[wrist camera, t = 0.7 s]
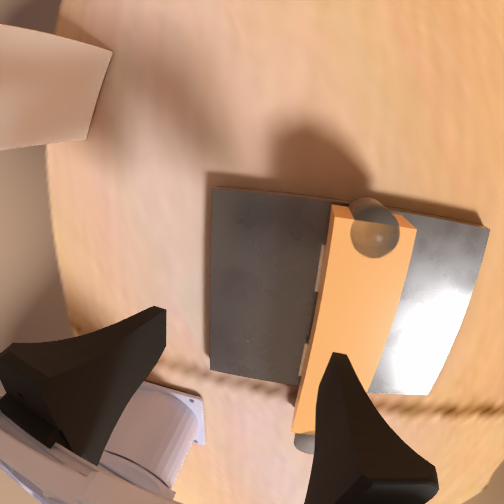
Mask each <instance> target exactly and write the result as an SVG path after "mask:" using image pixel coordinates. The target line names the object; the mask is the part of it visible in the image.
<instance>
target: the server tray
mask: <svg viewBox="0 0 504 504" xmlns="http://www.w3.org/2000/svg"><path fill="white" fill-rule="evenodd" d="M352 202H353V201H346V200H339V199H331V198H324V197H316V196H308V195H300V194H291V193H283V192H274V191H264V190H254V189H244V188H233V187H221V186H217V187H215V188H213V190H212V217H211V255H210V370H214V371H218V372H223V373H228V374H233V375H238V376H243V377H248V378H254V379H259V380H265V381H271V382H278V383H284V384H291V385H298V386H299V385H300V381H301V377H302V372H303V368H304V363H305V358H306V354H307V349H308V344H309V339H310V334H311V329H312V324H313V319H314V314H315V309H316V303H317V298H318V292H319V286H320V280H321V274H322V268H323V262H324V256H325V249H326V243H327V236H328V229H329V222H330V214H331V206H332V205H339V206H346V207H348V206H349V205H350V204H351V203H352ZM384 207H385V206H384ZM385 208H386V209H388V210H389V211H390V212H391V213H392V214H398V215H402V216H403V217H404V218H405V219H406V220H407V221H408V222H409V223H411V224H412V225H413V226H414V227H415V228H416V229H417V232H416V236H415V241H414V246H413V250H412V254H411V259H410V263H409V267H408V271H407V275H406V279H405V282H404V286H403V290H402V293H401V297H400V300H399V304H398V307H397V310H396V314H395V317H394V320H393V323H392V326H391V329H390V332H389V335H388V338H387V341H386V344H385V347H384V350H383V353H382V355H381V358H380V361H379V364H378V366H377V369H376V371H375V374H374V377H373V379H372V382H371V384H370V387H369V389H368V391H367V393H382V394H407V395H428V393H429V391H430V389H431V387H432V385H433V384H434V382H435V380H436V378H437V376H438V374H439V372H440V370H441V368H442V366H443V363H444V361H445V359H446V357H447V355H448V353H449V350H450V348H451V346H452V344H453V341H454V339H455V337H456V334H457V332H458V329H459V327H460V324H461V322H462V319H463V317H464V314H465V312H466V309H467V306H468V303H469V301H470V298H471V295H472V292H473V289H474V286H475V283H476V280H477V276H478V273H479V270H480V266H481V263H482V259H483V256H484V252H485V248H486V244H487V240H488V236H489V232H490V229H489V228H487V227H485V226H484V225H479V224H475V223H470V222H465V221H461V220H456V219H451V218H446V217H441V216H436V215H430V214H425V213H420V212H414V211H408V210H403V209H397V208H391V207H385Z"/></svg>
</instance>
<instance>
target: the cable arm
mask: <svg viewBox="0 0 504 504" xmlns="http://www.w3.org/2000/svg"><path fill="white" fill-rule="evenodd" d="M416 232H417V229H416V228H415V227H414V226H413V225H412V224H411V223H409V222H408V221H407V220H406V219H405V218H404V217H403V216H402V215H398V214H392V213H391V212H390V211H389V210H388V209H386V208H385V207H384V206H383V205H382V204H381V203H380V202H379V201H378V200H376V199H374V198H371V197H361V198H358V199H356V200H354V201H353V202H352V203H351V204H350V205H349V206H348V207H346V206H339V205H332V206H331V214H330V222H329V229H328V236H327V243H326V249H325V256H324V262H323V268H322V274H321V280H320V286H319V292H318V298H317V303H316V309H315V314H314V319H313V324H312V329H311V334H310V339H309V344H308V349H307V354H306V358H305V363H304V368H303V372H302V377H301V381H300V385H299V390H298V394H297V398H296V402H295V408H294V415H293V422H292V429H291V432H292V433H295V439H294V445H295V447H296V448H297V449H298V450H300V451H302V452H304V453H308V454H314V447H315V415H316V401H317V394H318V388H319V384H320V382H321V379H322V377H323V375H324V372H325V370H326V367H327V365H328V362H329V360H330V357H331V355H332V352H337V353H342V354H347V356H348V358H349V360H350V362H351V364H352V366H353V368H354V370H355V372H356V374H357V376H358V378H359V380H360V382H361V384H362V386H363V388H364V390H365V392H366V393H367V391H368V389H369V387H370V384H371V382H372V379H373V377H374V374H375V371H376V369H377V366H378V364H379V361H380V358H381V355H382V353H383V350H384V347H385V344H386V341H387V338H388V335H389V332H390V329H391V326H392V323H393V320H394V317H395V314H396V310H397V307H398V304H399V300H400V297H401V293H402V290H403V286H404V282H405V279H406V275H407V271H408V267H409V263H410V259H411V254H412V250H413V246H414V241H415V236H416Z"/></svg>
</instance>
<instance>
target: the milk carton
mask: <svg viewBox="0 0 504 504" xmlns="http://www.w3.org/2000/svg"><path fill="white" fill-rule="evenodd" d="M112 54H113V52H112V51H109V50H106V49H103V48H100V47H97V46H94V45H90V44H87V43H83V42H80V41H76V40H73V39H69V38H65V37H61V36H57V35H53V34H49V33H44V32H40V31H35V30H31V29H26V28H21V27H15V26H9V25H3V24H0V151H1V150H6V149H13V148H19V147H26V146H34V145H41V144H50V143H60V142H70V141H81V140H86V139H87V135H88V131H89V127H90V123H91V119H92V116H93V112H94V108H95V105H96V102H97V98H98V95H99V92H100V88H101V85H102V82H103V79H104V76H105V73H106V70H107V67H108V65H109V62H110V59H111V56H112Z"/></svg>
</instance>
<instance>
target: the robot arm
mask: <svg viewBox="0 0 504 504" xmlns="http://www.w3.org/2000/svg"><path fill="white" fill-rule="evenodd" d="M165 347H166V309H163V308H159V307H156V306H153V307H150V308H148V309H146V310H144V311H141V312H139V313H137V314H135V315H133V316H131V317H129V318H127V319H124V320H122V321H120V322H118V323H115V324H113V325H110V326H108V327H105V328H103V329H100V330H98V331H95V332H92V333H89V334H85V335H82V336H78V337H74V338H69V339H64V340H59V341H51V342H42V343H12V344H11V345H10V346H9V347H8V348H6V349H5V350H4V351H3V352H1V353H0V380H1V382H2V384H3V386H4V388H5V391H6V394H5V395H4V396H3V397H2V395H1V394H0V468H1V469H2V470H3V471H4V472H5V473H6V474H7V475H8V476H10V477H11V478H12V479H13V480H14V481H15V482H16V483H18V484H19V485H20V486H21V487H22V488H24V489H25V490H26V491H27V492H29V493H30V494H31V495H32V496H33V497H35V498H36V499H37V500H39V501H40V502H41V503H43V504H182V503H179V502H176V501H173V498H174V496H175V494H176V492H174V491H172V487H173V485H174V483H175V481H176V479H177V477H178V474H179V472H180V470H181V468H182V466H183V463H184V461H185V459H186V457H187V454H188V452H189V450H190V448H191V446H192V443H195V444H199V445H204V444H205V442H206V440H205V425H204V408H203V399H202V398H201V397H199V396H195V395H191V394H187V393H184V392H180V391H176V390H173V389H169V388H166V387H162V386H159V385H156V384H152V383H149V382H146V381H144V380H145V379H146V377H147V376H148V375H149V373H150V372H151V371H152V369H153V368H154V366H155V365H156V364H157V362H158V360H159V358H160V356H161V355H162V353H163V351H164V349H165ZM438 490H439V485H438V478H437V473H436V469H435V466H434V465H432V464H431V463H429V462H428V461H427V460H425V459H424V458H422V457H421V456H420V455H418V454H417V453H416V452H415V451H414V450H412V449H411V448H410V447H409V446H408V445H407V444H406V443H405V442H404V441H403V440H402V439H401V438H400V437H399V436H398V435H397V434H396V433H395V432H394V431H393V430H392V429H391V428H390V426H389V425H388V424H387V423H386V422H385V420H384V419H383V418H382V416H381V415H380V414H379V412H378V411H377V409H376V408H375V407H374V405H373V403H372V402H371V400H370V399H369V397H368V395H367V393H366V392H365V390H364V388H363V386H362V384H361V382H360V380H359V378H358V376H357V374H356V372H355V370H354V368H353V366H352V364H351V362H350V360H349V358H348V356H347V354H342V353H337V352H332V355H331V357H330V360H329V362H328V365H327V367H326V370H325V372H324V375H323V377H322V379H321V382H320V384H319V388H318V394H317V401H316V415H315V447H314V458H313V464H312V470H311V475H310V480H309V485H308V490H307V494H306V498H305V503H304V504H425V503H427V502H428V501H429V500H430V499H432V498H433V497H434V496H435V495H436V493H437V492H438Z"/></svg>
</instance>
